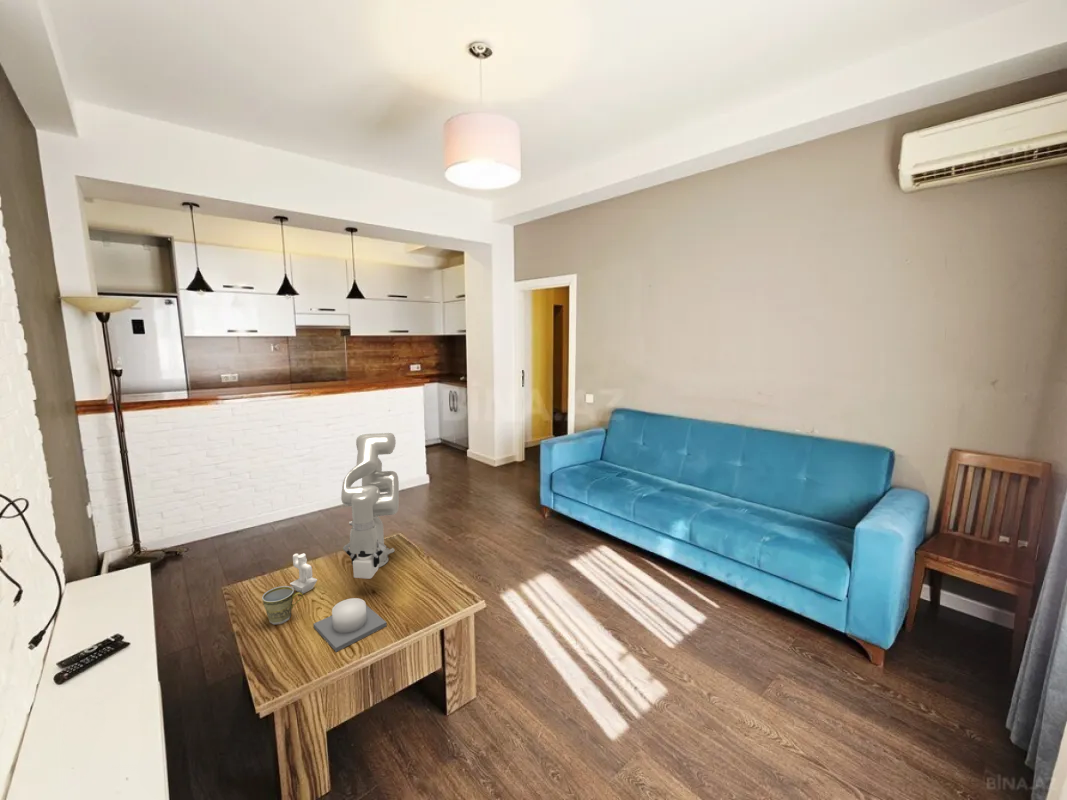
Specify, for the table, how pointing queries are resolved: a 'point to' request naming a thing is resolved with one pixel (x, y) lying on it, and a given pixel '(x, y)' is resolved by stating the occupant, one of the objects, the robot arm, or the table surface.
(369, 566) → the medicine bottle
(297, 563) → the figurine
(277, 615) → the ceramic cup
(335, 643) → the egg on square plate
